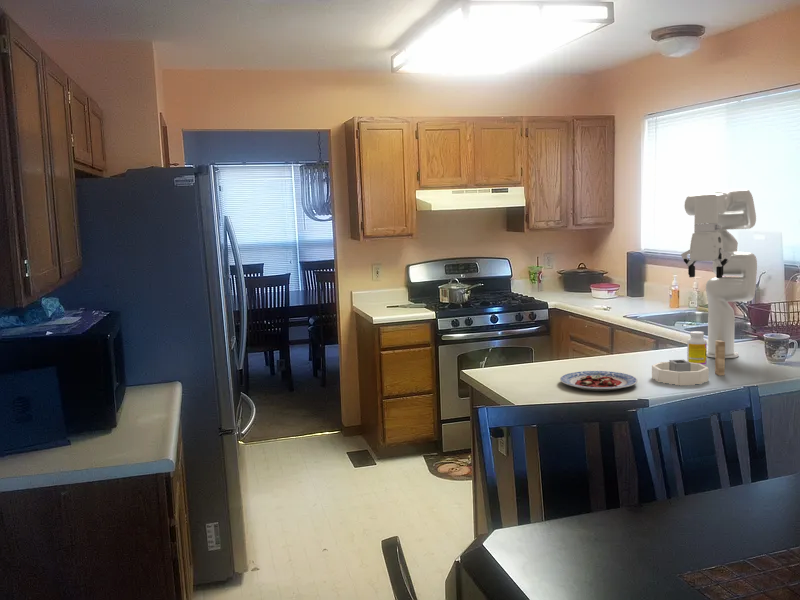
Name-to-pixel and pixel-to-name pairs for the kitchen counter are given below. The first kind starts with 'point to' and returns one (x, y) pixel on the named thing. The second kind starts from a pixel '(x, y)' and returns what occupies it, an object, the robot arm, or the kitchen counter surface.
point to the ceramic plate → (599, 380)
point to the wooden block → (720, 357)
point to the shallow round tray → (680, 372)
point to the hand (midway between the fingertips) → (705, 277)
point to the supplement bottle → (697, 348)
